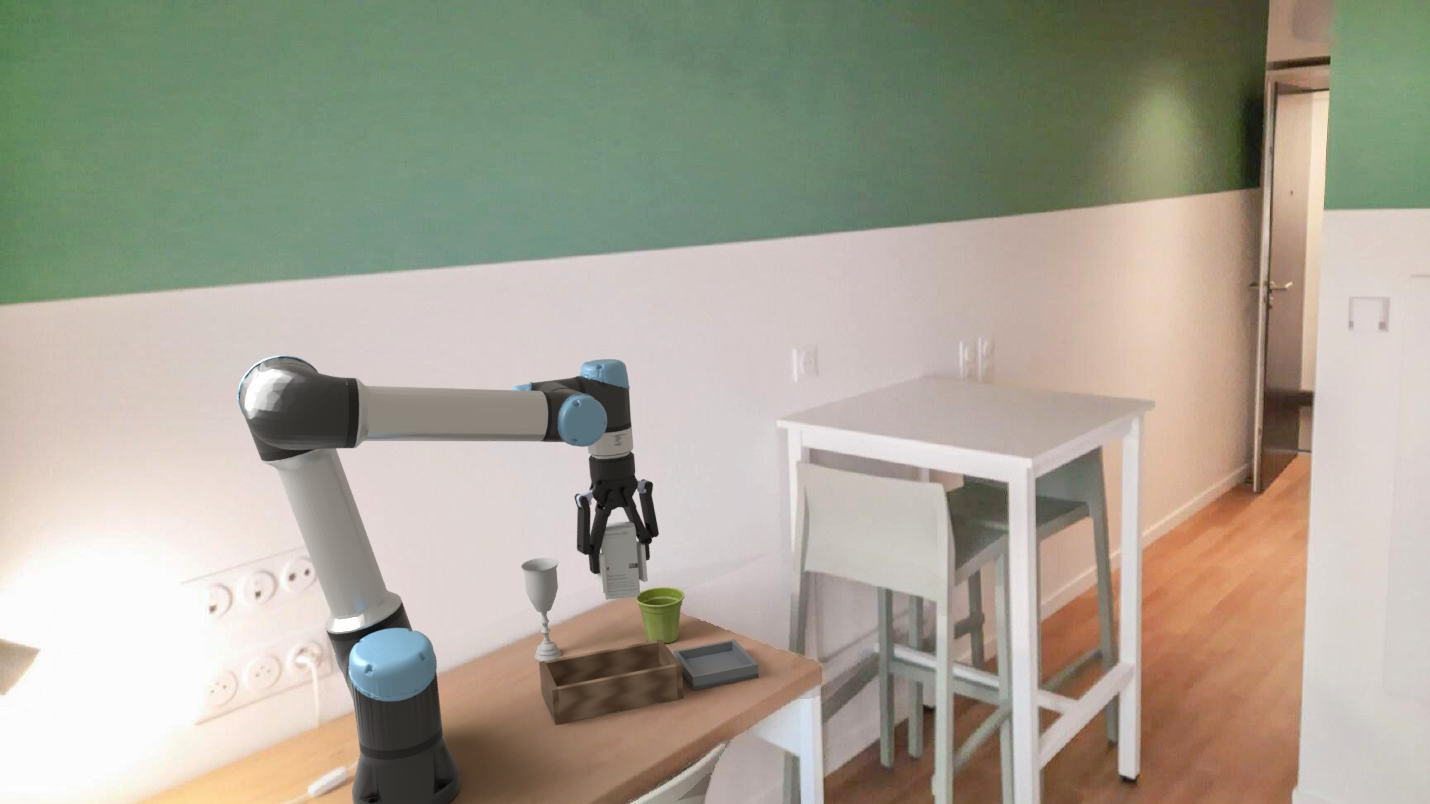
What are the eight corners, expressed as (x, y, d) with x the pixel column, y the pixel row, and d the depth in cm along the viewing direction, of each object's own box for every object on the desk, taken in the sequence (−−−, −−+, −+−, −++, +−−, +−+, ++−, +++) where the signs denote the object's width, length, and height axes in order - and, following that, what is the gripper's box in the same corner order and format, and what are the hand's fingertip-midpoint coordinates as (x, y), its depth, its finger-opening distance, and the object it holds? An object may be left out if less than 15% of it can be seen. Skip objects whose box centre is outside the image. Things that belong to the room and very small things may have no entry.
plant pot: (696, 633, 210) (693, 591, 209) (668, 652, 203) (666, 608, 201) (656, 625, 215) (654, 584, 214) (628, 643, 208) (625, 600, 206)
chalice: (558, 664, 200) (550, 571, 196) (523, 662, 201) (515, 570, 198) (571, 647, 207) (564, 557, 203) (537, 646, 208) (529, 557, 205)
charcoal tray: (693, 690, 186) (693, 677, 186) (673, 663, 197) (672, 650, 197) (758, 677, 190) (758, 664, 190) (735, 651, 201) (734, 639, 201)
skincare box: (605, 600, 181) (598, 531, 179) (604, 591, 186) (597, 523, 183) (642, 596, 182) (635, 527, 180) (640, 586, 186) (633, 519, 184)
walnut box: (554, 724, 177) (552, 690, 176) (541, 694, 188) (539, 661, 187) (683, 698, 184) (681, 665, 182) (663, 670, 195) (661, 639, 194)
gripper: (565, 468, 171) (578, 606, 175) (674, 446, 181) (683, 576, 185) (546, 460, 177) (559, 593, 181) (652, 439, 187) (661, 565, 192)
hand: (622, 584), depth 183 cm, fingers closed on skincare box, 7 cm apart
